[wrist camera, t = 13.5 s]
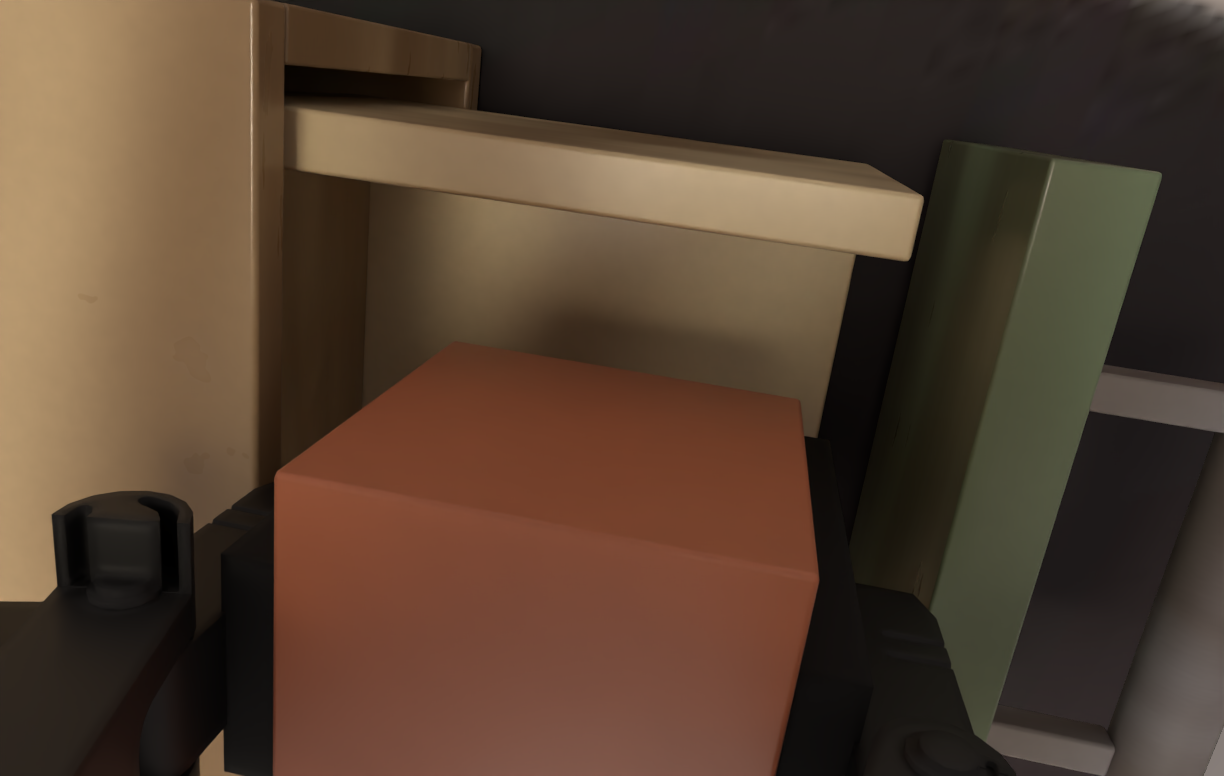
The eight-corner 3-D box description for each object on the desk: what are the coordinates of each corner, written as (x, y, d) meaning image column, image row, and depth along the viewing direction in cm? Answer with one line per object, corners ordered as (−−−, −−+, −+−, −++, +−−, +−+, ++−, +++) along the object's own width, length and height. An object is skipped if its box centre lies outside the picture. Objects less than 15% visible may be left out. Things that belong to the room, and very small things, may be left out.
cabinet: (483, 46, 18) (256, -4, 10) (440, 620, 22) (256, 904, 14) (-107, -30, 20) (-700, -123, 12) (-42, 519, 24) (-446, 723, 16)
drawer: (1260, 180, 16) (1591, 229, 9) (1063, 752, 19) (1203, 1060, 13) (360, 61, 18) (130, 35, 11) (341, 599, 21) (163, 804, 15)
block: (802, 398, 12) (821, 577, 8) (740, 701, 14) (725, 1004, 9) (452, 339, 13) (271, 471, 8) (431, 635, 14) (269, 890, 10)
